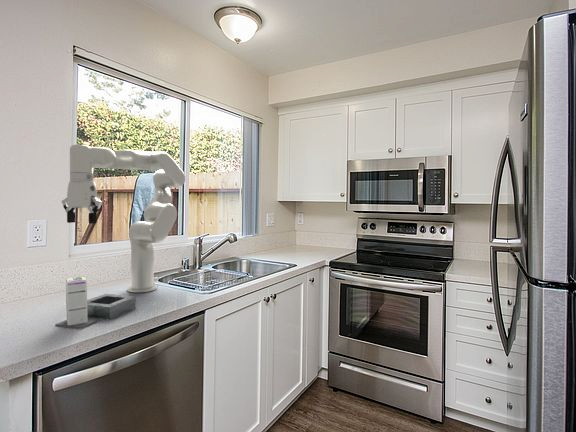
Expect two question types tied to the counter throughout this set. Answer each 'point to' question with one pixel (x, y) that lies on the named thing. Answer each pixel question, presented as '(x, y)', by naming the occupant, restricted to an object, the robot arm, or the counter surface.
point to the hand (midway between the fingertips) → (81, 222)
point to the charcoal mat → (78, 326)
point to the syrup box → (76, 300)
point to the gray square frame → (110, 306)
